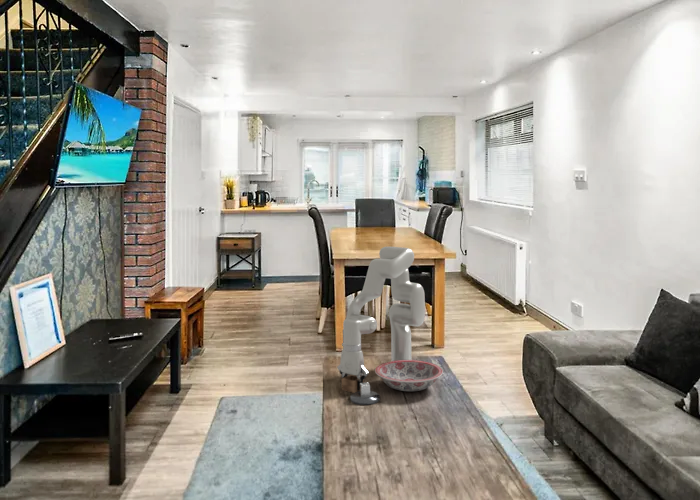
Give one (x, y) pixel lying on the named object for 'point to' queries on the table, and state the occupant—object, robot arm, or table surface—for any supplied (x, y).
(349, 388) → the hollow wooden square
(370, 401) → the post base
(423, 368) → the ceramic bowl
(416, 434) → the table surface
